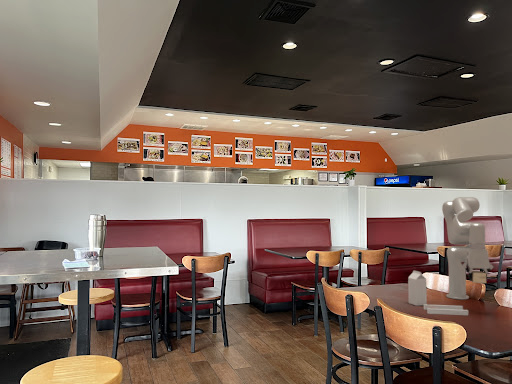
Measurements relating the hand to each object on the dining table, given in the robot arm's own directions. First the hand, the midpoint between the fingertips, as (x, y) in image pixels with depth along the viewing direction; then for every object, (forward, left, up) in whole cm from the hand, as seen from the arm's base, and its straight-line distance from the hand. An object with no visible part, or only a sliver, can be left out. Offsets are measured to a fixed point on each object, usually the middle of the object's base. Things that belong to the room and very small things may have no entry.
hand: (477, 280), depth 220 cm
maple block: (0, 0, -1) cm, 1 cm away
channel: (0, -17, -17) cm, 24 cm away
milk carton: (-16, -28, -18) cm, 36 cm away
